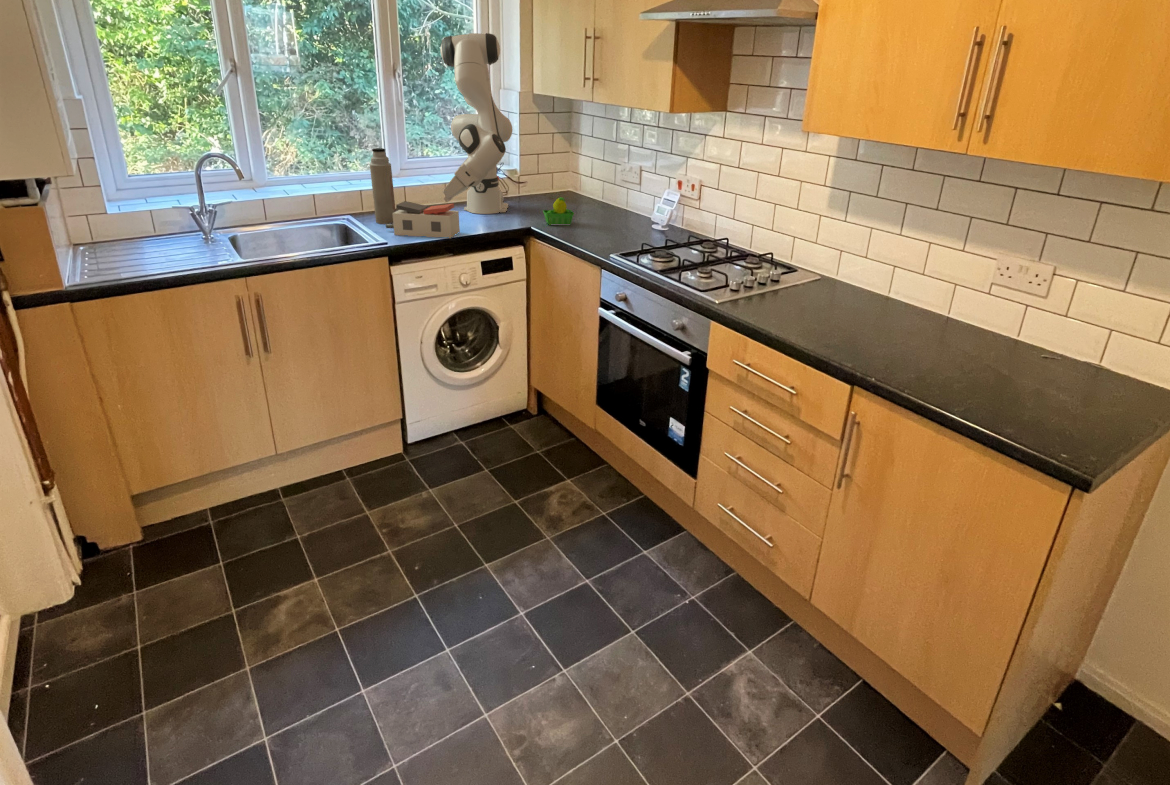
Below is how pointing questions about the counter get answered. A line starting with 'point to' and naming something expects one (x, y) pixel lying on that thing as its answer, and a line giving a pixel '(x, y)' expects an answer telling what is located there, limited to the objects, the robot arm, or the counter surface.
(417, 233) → the rocker switch box
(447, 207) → the red rocker
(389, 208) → the thermos bottle
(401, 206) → the black rocker
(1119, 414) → the counter surface
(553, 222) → the fruit basket
